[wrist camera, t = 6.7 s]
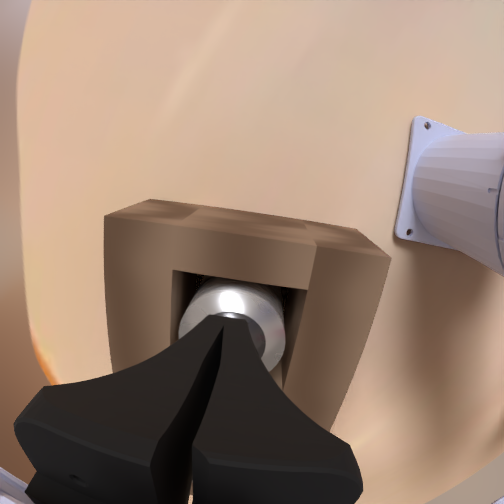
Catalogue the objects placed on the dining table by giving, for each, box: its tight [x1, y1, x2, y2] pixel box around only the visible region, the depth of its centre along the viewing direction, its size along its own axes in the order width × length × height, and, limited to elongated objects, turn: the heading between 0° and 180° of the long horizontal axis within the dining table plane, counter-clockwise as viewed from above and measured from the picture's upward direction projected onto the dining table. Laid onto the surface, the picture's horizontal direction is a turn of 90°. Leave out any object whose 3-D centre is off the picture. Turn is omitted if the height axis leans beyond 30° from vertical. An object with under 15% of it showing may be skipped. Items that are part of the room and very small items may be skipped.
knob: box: [179, 275, 285, 372], centre depth 17 cm, size 5×5×6 cm
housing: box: [104, 199, 391, 495], centre depth 19 cm, size 13×22×6 cm, turn 172°
